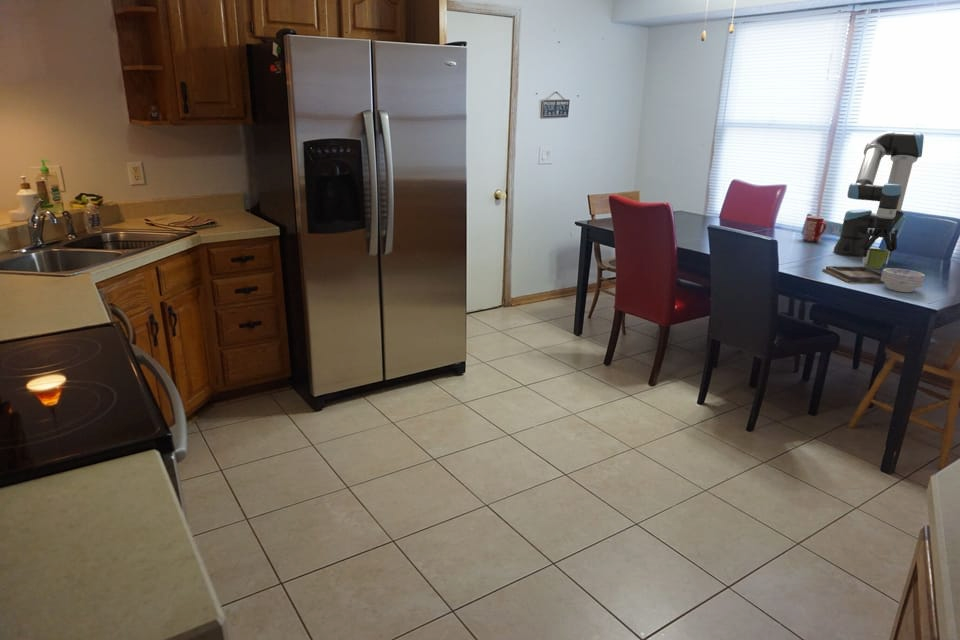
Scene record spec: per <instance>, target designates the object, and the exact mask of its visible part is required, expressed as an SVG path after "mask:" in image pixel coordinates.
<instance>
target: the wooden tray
mask: <svg viewBox="0 0 960 640" xmlns="http://www.w3.org/2000/svg"><path fill="white" fill-rule="evenodd" d="M821 271H822V272H823V273H826V274H828V275H830V276H832V277H835V278H837V279H839V280H841V281H843V282H845V283H849V282H855V284H856V282H860V283H859V284H885V283H884V282H883V281H881V276H882V272H880V271H878V270H877V269H872V268H869V267H866V266H853V265H852V266H850V265H848V266H847V265H845V266H844V265H826V266H825V268H822V270H821Z"/></svg>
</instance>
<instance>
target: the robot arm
mask: <svg viewBox="0 0 960 640" xmlns="http://www.w3.org/2000/svg"><path fill="white" fill-rule="evenodd" d="M924 139H925V135H924V134H923V133H922V132H921V133H920V132H909V131H908V132H907V131H903V132H902V131H885V132H881V133H880V134H878V135H876V136H874V137H872V138H871V139H870V140H869V142H868V143H866V145H865V148H864V150H863V155H864V157H863V160H862V163H861V165H860V169H859V171H858V175H857V178H856V181H855V182H852V183H850V184H849V186H848V190H847V199H853V200H858V201H859V200H860V201H871V202H878V203H879V204H878V207H877V210H876V213H874V212H873V211H872V210H871V209H850V210H847V211H846V212H845V214H844V218H843V219H842V220H843V222H842V226H841V231H840V236H839V239H838V240H837V242H836V243H835V245H834V248H833V251H832V252H833V253H834V254H837V255H840V256H846V257H852V258H853V257H855V258H856V257H857V258H859V257H861V258H862V261H861V263H862V264H864V265H867V261H868V257H869V253H870V251H869V248H872V246H873V245H874V244H875V242H876V240H877V239H879V238H883V239H884V242H885V246H886V250H887V251H889V253H888V254H887V255H886V257H885V259H884V262H883V264H882V265H888V262H889V259H890V258H891V256H892V252H894V251H896V250H897V249H898V243H897V242H898V239H897V238H898V237H899V236H900V234H901V233H902V229H903V227H904V224H905V222H906V219H907V217H906V216H905V215H904V213H905V212H904V211H903V210H902V207H903V203H904V199H905V195H906V192H907V188H908V183H909V180H910V177H911V172H912V167H913V165H914V163H916V162H917V161H918V158H922V155H923V148H924ZM884 156H890V161H892V165H891V169H890V173H889V176H888V180H887V183H885V184H883V185H878V184H874V183H875V180H876V177H877V173H878V171H879V166H880V164H881V160H882V158H884Z"/></svg>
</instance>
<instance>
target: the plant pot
mask: <svg viewBox="0 0 960 640" xmlns="http://www.w3.org/2000/svg"><path fill="white" fill-rule="evenodd" d="M869 251H870V253H869V257H868V261H867V264H865V265H866V266H865V267H869V268H871V269H873V270H880V269H882V267H883V265H884V264H883V262H884V259H885V257H886V255H887V254H888V253H889V251H887V249H882V248H872V247H870V248H869Z"/></svg>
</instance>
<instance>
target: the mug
mask: <svg viewBox="0 0 960 640" xmlns="http://www.w3.org/2000/svg"><path fill="white" fill-rule="evenodd" d="M824 220H825V217H821V216H817V215H815V216H814V215H809V216H806V222H805V233H804V237H803V238H804V239H805V240H804V241H806V240H807V242H813V241H816V242H819V239H820V237H821V236H822V235H823V234H824V233H825V231H826V229H827V223H826V222H825V221H824Z"/></svg>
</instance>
